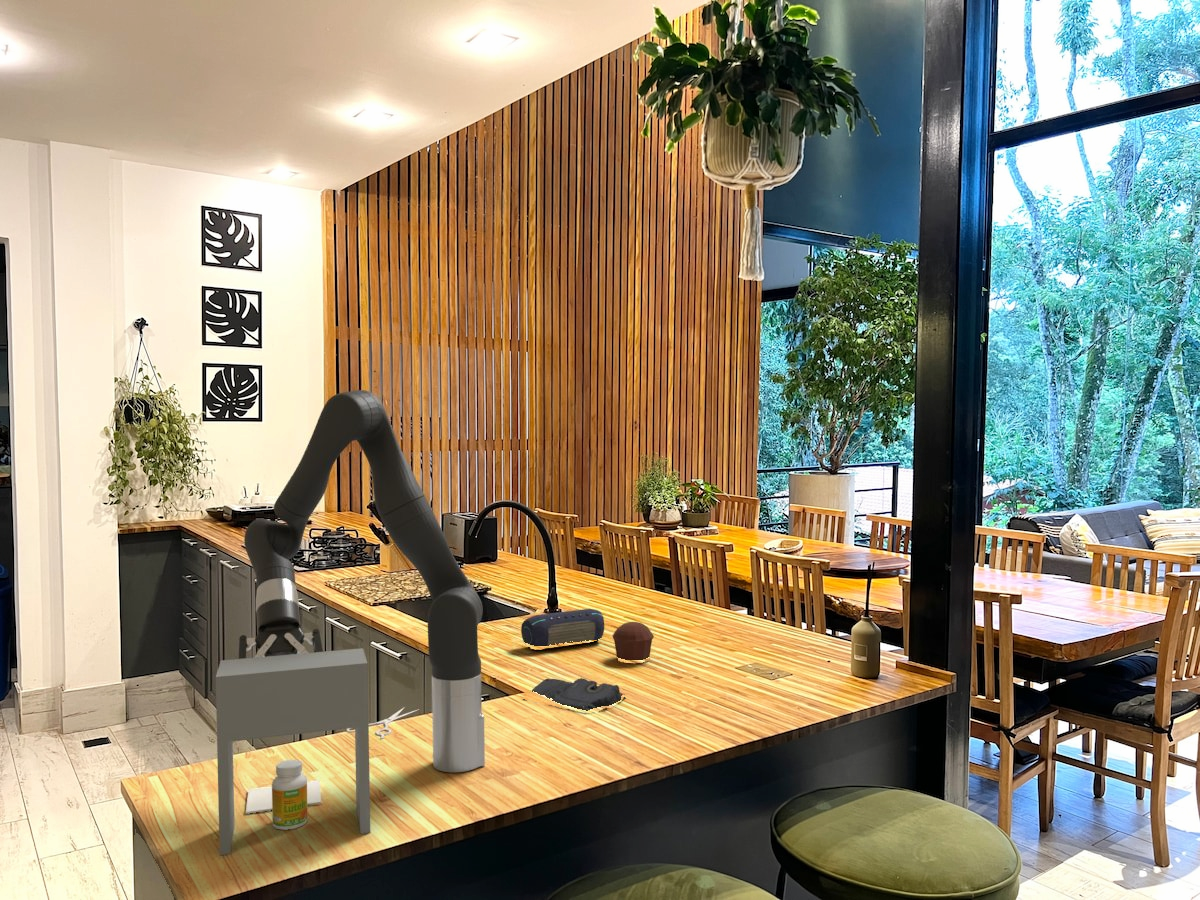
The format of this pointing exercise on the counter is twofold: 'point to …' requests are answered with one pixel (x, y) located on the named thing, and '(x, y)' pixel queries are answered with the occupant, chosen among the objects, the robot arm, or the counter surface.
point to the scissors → (385, 723)
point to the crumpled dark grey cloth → (579, 693)
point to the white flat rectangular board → (263, 797)
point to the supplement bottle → (289, 796)
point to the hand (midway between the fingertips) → (283, 686)
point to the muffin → (633, 641)
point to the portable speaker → (563, 627)
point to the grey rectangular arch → (290, 713)
